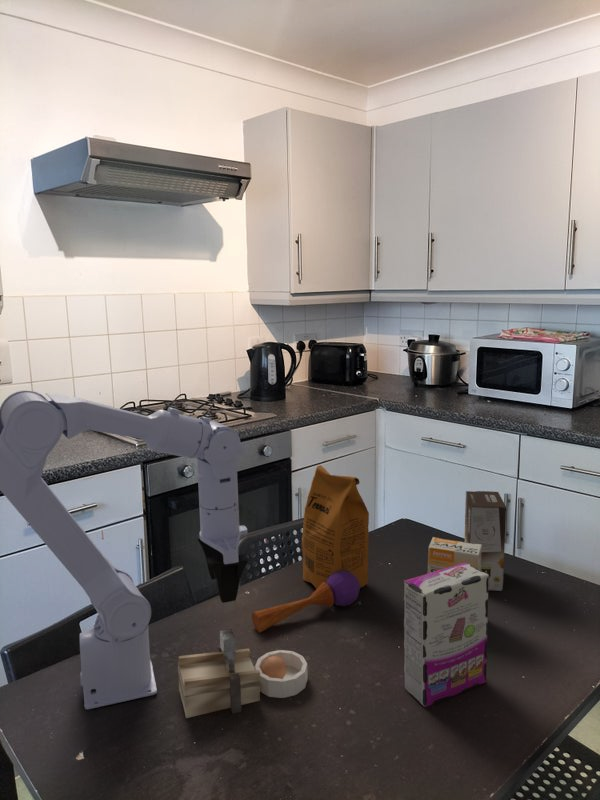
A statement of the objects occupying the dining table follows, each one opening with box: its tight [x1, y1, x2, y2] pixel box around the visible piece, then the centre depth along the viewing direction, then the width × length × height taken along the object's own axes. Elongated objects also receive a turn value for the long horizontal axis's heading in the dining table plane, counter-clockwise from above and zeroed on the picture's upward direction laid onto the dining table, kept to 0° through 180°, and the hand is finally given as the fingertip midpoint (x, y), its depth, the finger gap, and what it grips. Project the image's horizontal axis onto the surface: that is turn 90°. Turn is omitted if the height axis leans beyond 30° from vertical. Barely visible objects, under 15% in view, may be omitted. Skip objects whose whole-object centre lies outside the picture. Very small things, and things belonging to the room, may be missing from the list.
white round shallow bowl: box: [254, 649, 308, 699], centre depth 88 cm, size 7×7×2 cm
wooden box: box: [177, 643, 261, 719], centre depth 84 cm, size 10×9×5 cm
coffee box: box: [463, 490, 507, 592], centre depth 116 cm, size 9×6×16 cm
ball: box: [262, 656, 286, 679], centre depth 87 cm, size 3×3×3 cm
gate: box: [219, 628, 237, 674], centre depth 84 cm, size 2×4×5 cm, turn 19°
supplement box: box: [427, 536, 482, 574], centre depth 102 cm, size 8×5×13 cm, turn 68°
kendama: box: [251, 570, 361, 634], centre depth 105 cm, size 6×6×20 cm
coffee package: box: [301, 464, 370, 590], centre depth 115 cm, size 10×12×22 cm
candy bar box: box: [403, 563, 489, 708], centre depth 85 cm, size 11×5×16 cm, turn 117°
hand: (222, 588), depth 93 cm, fingers open, 7 cm apart
